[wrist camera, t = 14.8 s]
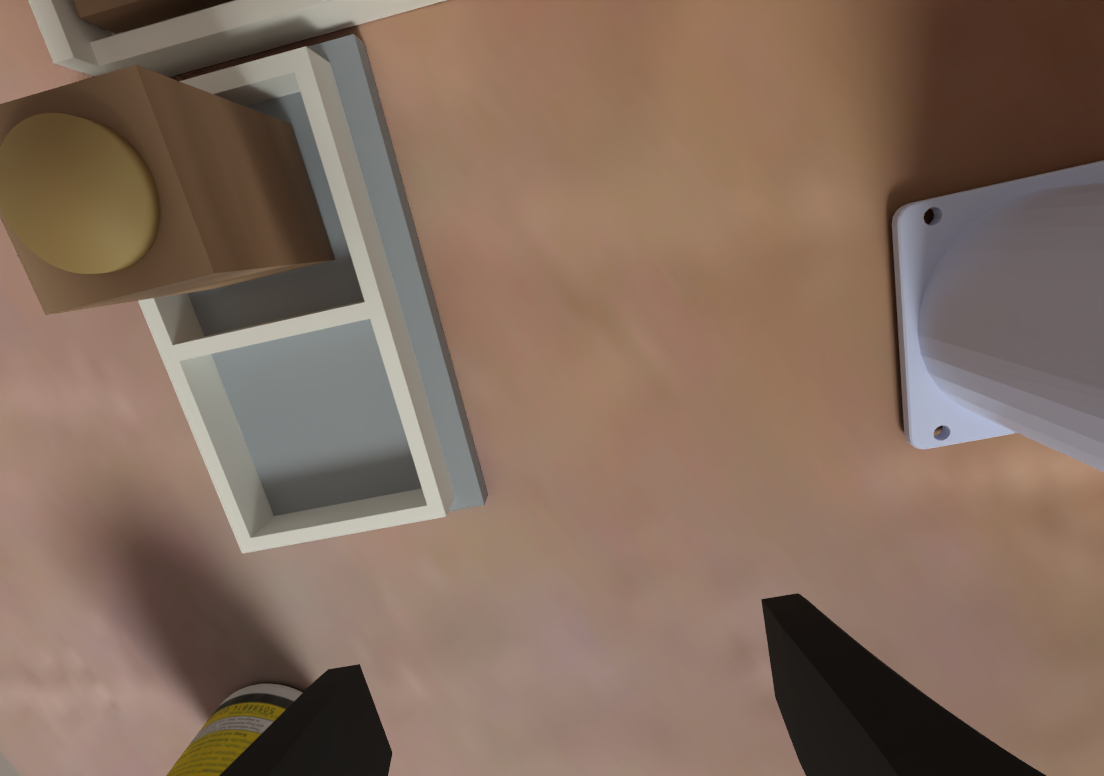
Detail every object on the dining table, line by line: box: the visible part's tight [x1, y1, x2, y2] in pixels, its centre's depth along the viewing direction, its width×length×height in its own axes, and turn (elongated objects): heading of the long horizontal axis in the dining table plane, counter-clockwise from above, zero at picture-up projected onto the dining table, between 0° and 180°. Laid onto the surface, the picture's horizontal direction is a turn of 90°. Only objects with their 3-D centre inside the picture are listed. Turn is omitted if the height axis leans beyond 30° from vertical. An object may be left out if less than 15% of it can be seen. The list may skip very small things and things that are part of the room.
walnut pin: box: [0, 65, 335, 315], centre depth 14 cm, size 4×4×6 cm
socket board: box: [138, 34, 488, 554], centre depth 18 cm, size 9×15×2 cm, turn 13°
